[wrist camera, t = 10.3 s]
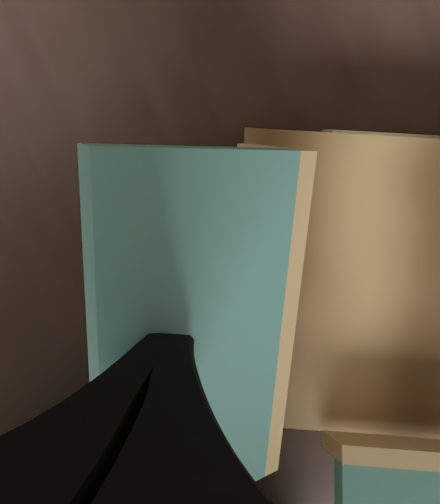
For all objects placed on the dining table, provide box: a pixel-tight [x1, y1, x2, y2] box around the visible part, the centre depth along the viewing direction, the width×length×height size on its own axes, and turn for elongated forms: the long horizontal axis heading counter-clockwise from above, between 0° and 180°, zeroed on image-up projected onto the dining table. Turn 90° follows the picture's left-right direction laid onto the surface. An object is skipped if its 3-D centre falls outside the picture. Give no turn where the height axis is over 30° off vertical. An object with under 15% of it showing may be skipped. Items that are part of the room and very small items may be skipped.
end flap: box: [77, 143, 317, 481], centre depth 12 cm, size 3×11×6 cm
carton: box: [243, 128, 440, 439], centre depth 17 cm, size 16×12×4 cm
